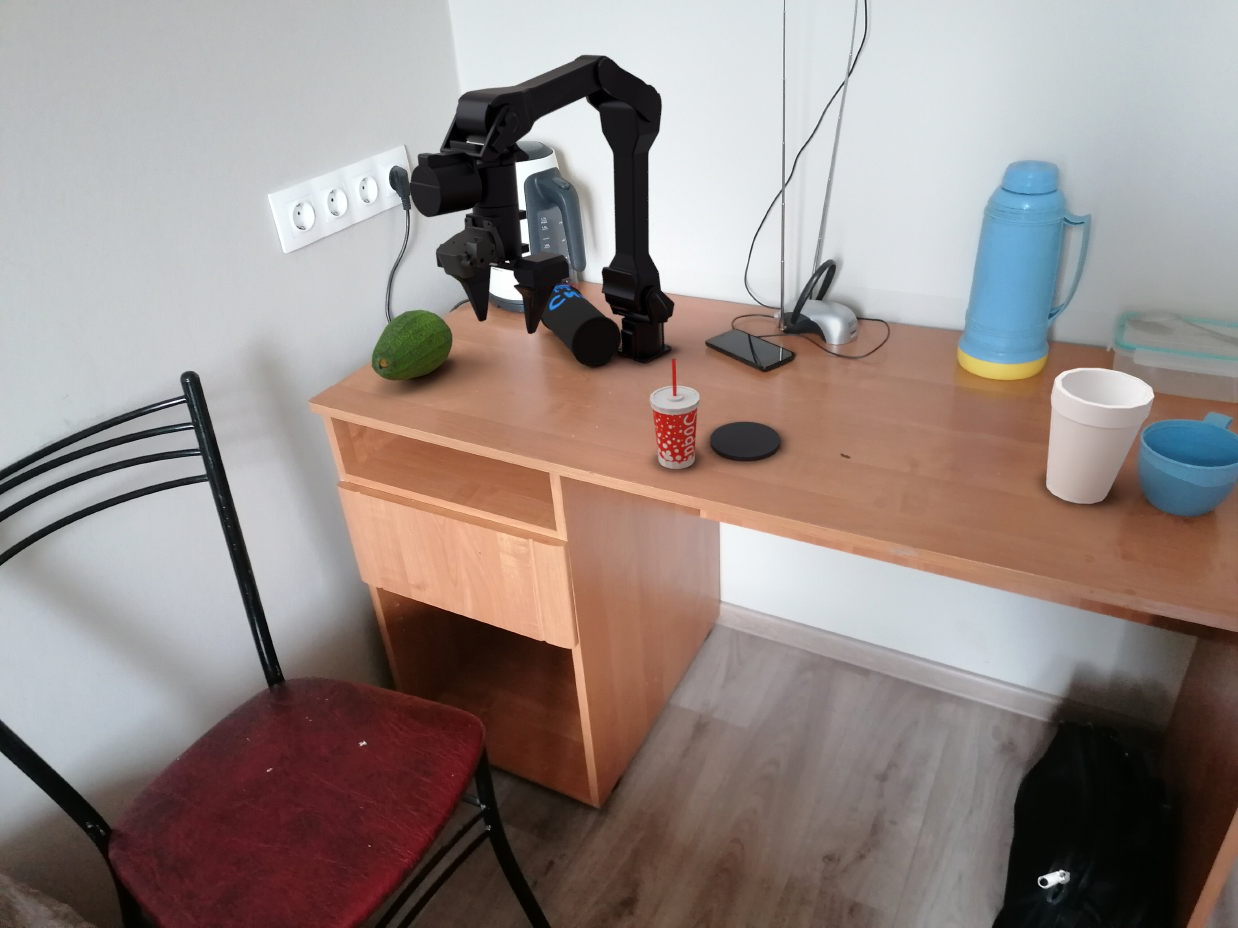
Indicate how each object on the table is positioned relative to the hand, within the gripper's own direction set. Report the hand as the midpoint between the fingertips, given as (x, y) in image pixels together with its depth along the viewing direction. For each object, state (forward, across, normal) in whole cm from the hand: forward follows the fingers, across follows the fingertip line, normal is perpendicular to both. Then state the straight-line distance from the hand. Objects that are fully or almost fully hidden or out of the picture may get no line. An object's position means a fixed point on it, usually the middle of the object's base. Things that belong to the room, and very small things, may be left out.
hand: (506, 327), depth 111 cm
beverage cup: (+15, +23, +6) cm, 28 cm away
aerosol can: (+8, -2, +21) cm, 22 cm away
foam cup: (+14, +65, +26) cm, 72 cm away
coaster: (+14, +28, +14) cm, 35 cm away
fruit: (+14, -26, +3) cm, 29 cm away
